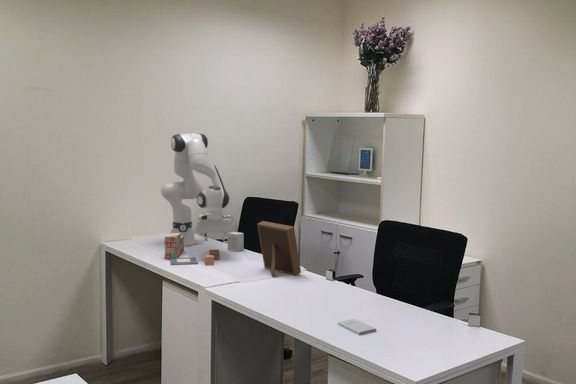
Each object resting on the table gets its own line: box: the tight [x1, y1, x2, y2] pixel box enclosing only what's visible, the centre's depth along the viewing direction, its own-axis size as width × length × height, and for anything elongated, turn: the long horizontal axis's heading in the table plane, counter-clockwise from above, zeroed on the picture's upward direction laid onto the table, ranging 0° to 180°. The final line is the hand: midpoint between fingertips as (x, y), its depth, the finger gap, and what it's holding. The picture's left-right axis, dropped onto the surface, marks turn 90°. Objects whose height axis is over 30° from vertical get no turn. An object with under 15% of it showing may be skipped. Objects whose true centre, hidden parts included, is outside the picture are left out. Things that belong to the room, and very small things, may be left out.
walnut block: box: [208, 249, 220, 261], centre depth 307 cm, size 5×5×5 cm
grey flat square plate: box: [169, 256, 199, 266], centre depth 301 cm, size 14×14×1 cm
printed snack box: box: [164, 232, 185, 259], centre depth 315 cm, size 21×6×12 cm, turn 179°
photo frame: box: [256, 220, 302, 278], centre depth 280 cm, size 15×22×25 cm
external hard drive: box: [337, 318, 377, 336], centre depth 205 cm, size 2×8×12 cm
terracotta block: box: [204, 254, 215, 266], centre depth 296 cm, size 4×4×4 cm
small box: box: [227, 231, 245, 252], centre depth 331 cm, size 8×6×10 cm
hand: (214, 240), depth 306 cm, fingers open, 8 cm apart
